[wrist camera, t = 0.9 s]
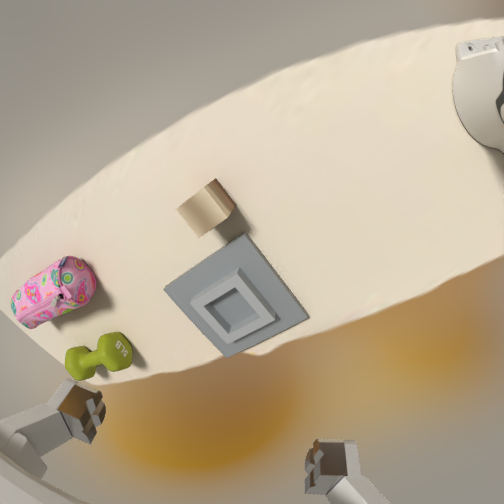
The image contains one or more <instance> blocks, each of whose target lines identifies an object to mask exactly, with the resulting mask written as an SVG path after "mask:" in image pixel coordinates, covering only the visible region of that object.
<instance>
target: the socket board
mask: <svg viewBox="0 0 504 504" xmlns="http://www.w3.org/2000/svg"><path fill="white" fill-rule="evenodd" d="M163 290H164V291H165V292H166V293H167V294H168V296H169V297H170V298H171V299H172V300H173V301H174V302H175V303H176V305H177V306H178V307H179V308H180V309H181V310H182V311H183V312H184V313H185V315H186V316H187V317H188V318H189V319H190V320H191V321H192V322H193V323H194V324H195V325H196V327H197V328H198V329H199V330H200V331H201V332H202V333H203V334H204V335H205V336H206V337H207V338H208V339H209V340H210V341H211V342H212V343H213V344H214V345H215V347H216V348H217V349H218V350H219V351H220V352H221V353H222V354H223V355H224V356H225V357H230V356H232V355H234V354H236V353H238V352H240V351H243V350H245V349H247V348H249V347H251V346H253V345H255V344H257V343H259V342H261V341H263V340H265V339H267V338H269V337H271V336H274V335H276V334H277V333H279V332H281V331H283V330H285V329H287V328H289V327H291V326H293V325H295V324H297V323H299V322H301V321H303V320H305V319H307V318H308V313H307V312H306V311H305V309H304V308H303V307H302V305H301V304H300V303H299V301H298V300H297V299H296V297H295V296H294V295H293V293H292V292H291V291H290V290H289V288H288V287H287V286H286V284H285V283H284V282H283V280H282V279H281V278H280V276H279V275H278V274H277V272H276V271H275V270H274V268H273V267H272V266H271V265H270V263H269V262H268V261H267V259H266V258H265V257H264V255H263V254H262V253H261V251H260V250H259V249H258V247H257V246H256V245H255V244H254V242H253V241H252V240H251V238H250V237H249V236H248V234H247V233H246V232H244V233H243V234H241V235H240V236H238V237H237V238H235V239H234V240H232V241H231V242H229V243H228V244H226V245H225V246H223V247H222V248H220V249H219V250H217V251H216V252H214V253H213V254H212V255H210V256H209V257H207V258H206V259H204V260H203V261H201V262H200V263H198V264H197V265H195V266H194V267H193V268H191V269H190V270H188V271H187V272H185V273H184V274H182V275H181V276H179V277H178V278H177V279H175V280H174V281H172V282H171V283H169V284H168V285H166V286H165V288H164V289H163Z"/></svg>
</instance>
